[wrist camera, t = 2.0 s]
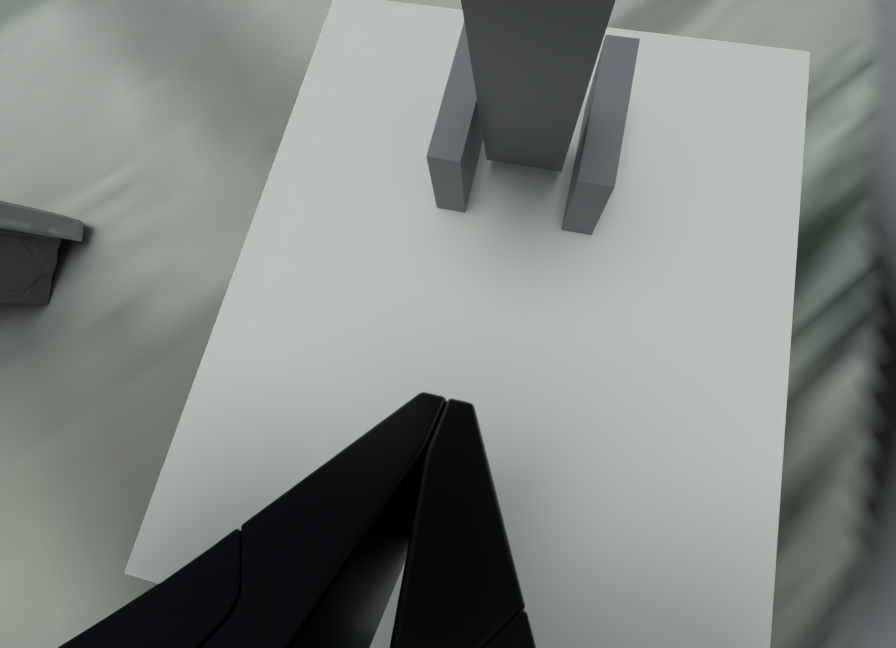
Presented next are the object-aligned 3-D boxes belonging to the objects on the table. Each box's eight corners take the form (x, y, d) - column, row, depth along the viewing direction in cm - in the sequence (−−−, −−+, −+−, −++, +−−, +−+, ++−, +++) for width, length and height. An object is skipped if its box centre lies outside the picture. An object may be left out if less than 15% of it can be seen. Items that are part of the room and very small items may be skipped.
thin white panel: (708, 709, 15) (850, 872, 9) (184, 552, 17) (32, 603, 11) (763, 109, 20) (875, -30, 14) (354, 53, 22) (308, -86, 17)
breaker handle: (567, 180, 16) (687, -140, 5) (477, 165, 16) (405, -160, 5) (580, 120, 16) (729, -337, 5) (489, 106, 16) (442, -343, 5)
